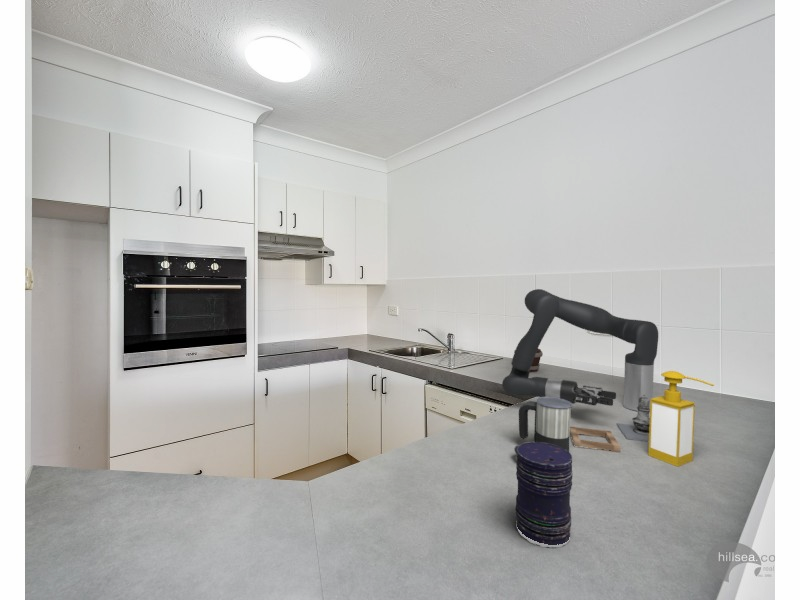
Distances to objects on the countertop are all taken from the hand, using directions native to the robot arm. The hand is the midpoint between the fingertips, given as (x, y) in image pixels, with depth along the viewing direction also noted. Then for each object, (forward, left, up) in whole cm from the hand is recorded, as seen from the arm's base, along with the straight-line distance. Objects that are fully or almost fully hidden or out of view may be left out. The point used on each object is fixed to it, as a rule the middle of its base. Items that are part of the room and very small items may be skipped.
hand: (614, 399), depth 122 cm
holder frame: (+14, -8, -10) cm, 19 cm away
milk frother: (+30, -23, -10) cm, 39 cm away
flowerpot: (-80, -24, -10) cm, 84 cm away
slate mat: (+2, +8, -10) cm, 12 cm away
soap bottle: (+21, +11, -10) cm, 26 cm away
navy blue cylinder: (+61, -25, -10) cm, 67 cm away
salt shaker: (+2, +7, -9) cm, 12 cm away
